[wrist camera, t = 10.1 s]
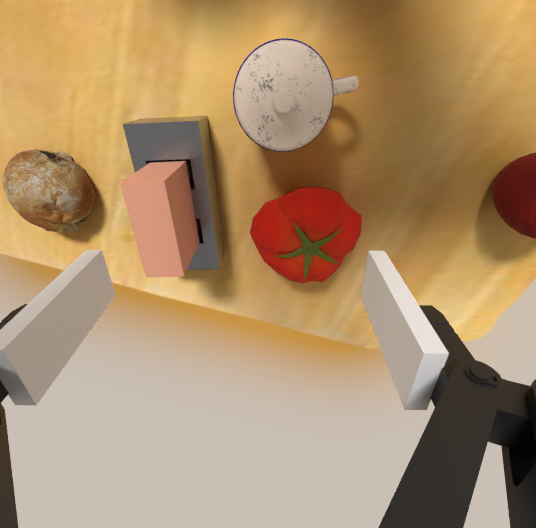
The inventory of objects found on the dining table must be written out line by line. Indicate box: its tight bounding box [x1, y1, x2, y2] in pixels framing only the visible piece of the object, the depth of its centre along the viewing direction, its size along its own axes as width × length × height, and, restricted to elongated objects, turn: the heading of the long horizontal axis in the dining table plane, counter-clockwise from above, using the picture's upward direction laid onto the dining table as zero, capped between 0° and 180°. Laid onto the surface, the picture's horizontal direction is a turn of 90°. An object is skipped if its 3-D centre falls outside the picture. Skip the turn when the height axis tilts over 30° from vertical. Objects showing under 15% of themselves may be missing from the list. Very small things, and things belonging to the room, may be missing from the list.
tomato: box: [250, 187, 362, 283], centre depth 40 cm, size 14×13×9 cm
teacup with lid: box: [233, 39, 359, 152], centre depth 31 cm, size 12×9×12 cm
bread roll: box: [3, 150, 96, 232], centre depth 40 cm, size 10×10×8 cm
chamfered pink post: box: [120, 161, 200, 277], centre depth 36 cm, size 10×4×11 cm, turn 3°
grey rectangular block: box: [123, 116, 224, 270], centre depth 40 cm, size 18×8×5 cm, turn 3°
